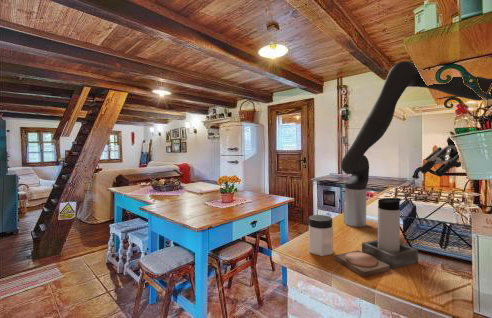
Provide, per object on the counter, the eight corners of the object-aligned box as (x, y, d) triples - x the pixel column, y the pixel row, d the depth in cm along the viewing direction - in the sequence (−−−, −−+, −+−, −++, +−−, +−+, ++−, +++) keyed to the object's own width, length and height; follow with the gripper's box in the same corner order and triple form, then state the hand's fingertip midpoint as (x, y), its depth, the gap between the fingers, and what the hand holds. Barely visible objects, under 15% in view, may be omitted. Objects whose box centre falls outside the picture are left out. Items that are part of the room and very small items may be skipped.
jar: (323, 245, 94) (323, 213, 93) (338, 253, 86) (338, 219, 86) (303, 248, 91) (303, 216, 90) (316, 257, 83) (316, 222, 83)
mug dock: (334, 259, 82) (334, 247, 81) (385, 248, 90) (385, 237, 89) (364, 277, 70) (364, 263, 70) (418, 262, 78) (419, 250, 78)
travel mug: (403, 263, 78) (404, 200, 77) (381, 261, 80) (381, 199, 79) (396, 254, 84) (396, 196, 83) (375, 253, 86) (375, 196, 85)
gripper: (446, 129, 84) (408, 163, 86) (478, 125, 70) (432, 166, 72) (463, 144, 83) (425, 178, 86) (499, 144, 69) (452, 184, 72)
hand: (428, 173), depth 79 cm, fingers open, 8 cm apart
